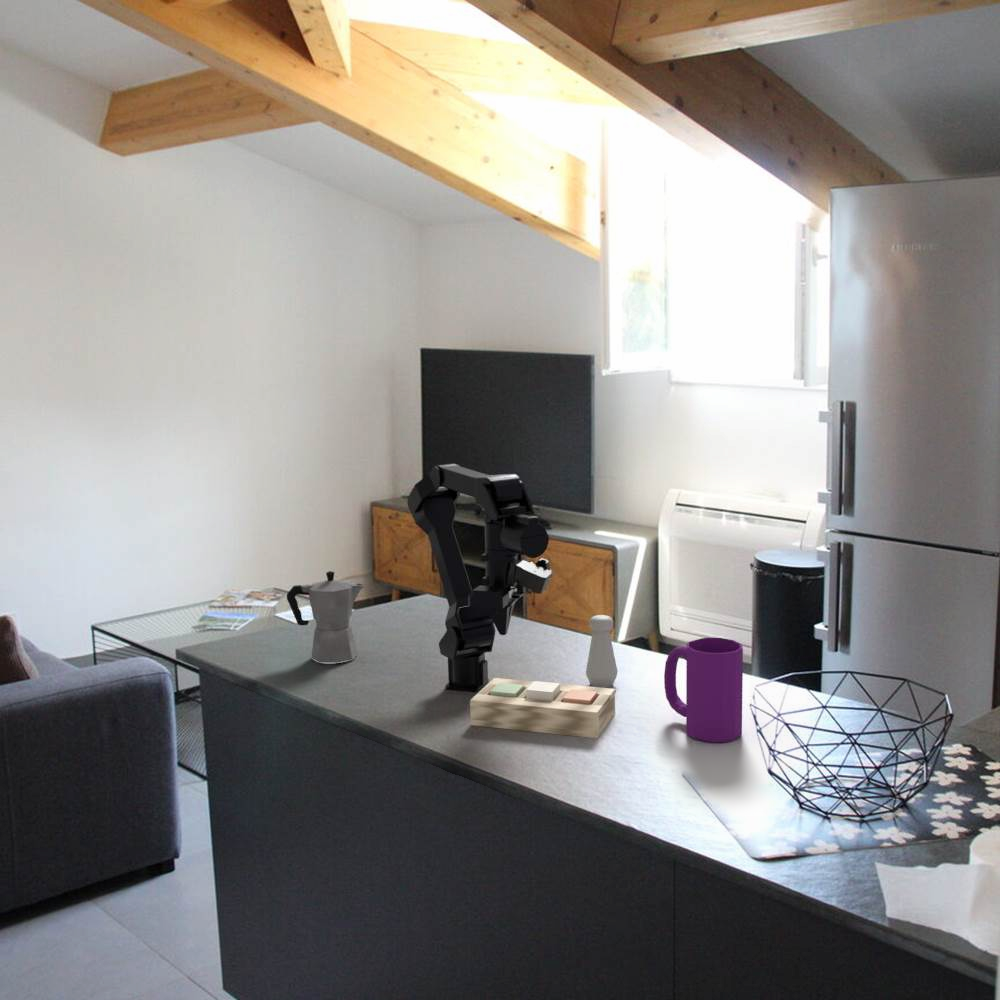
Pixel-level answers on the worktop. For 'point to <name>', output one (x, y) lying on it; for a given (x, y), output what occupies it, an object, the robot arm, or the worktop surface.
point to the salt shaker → (601, 653)
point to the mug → (709, 688)
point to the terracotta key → (580, 697)
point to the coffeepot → (329, 617)
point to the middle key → (543, 691)
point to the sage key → (507, 690)
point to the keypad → (543, 711)
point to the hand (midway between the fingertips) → (503, 634)
